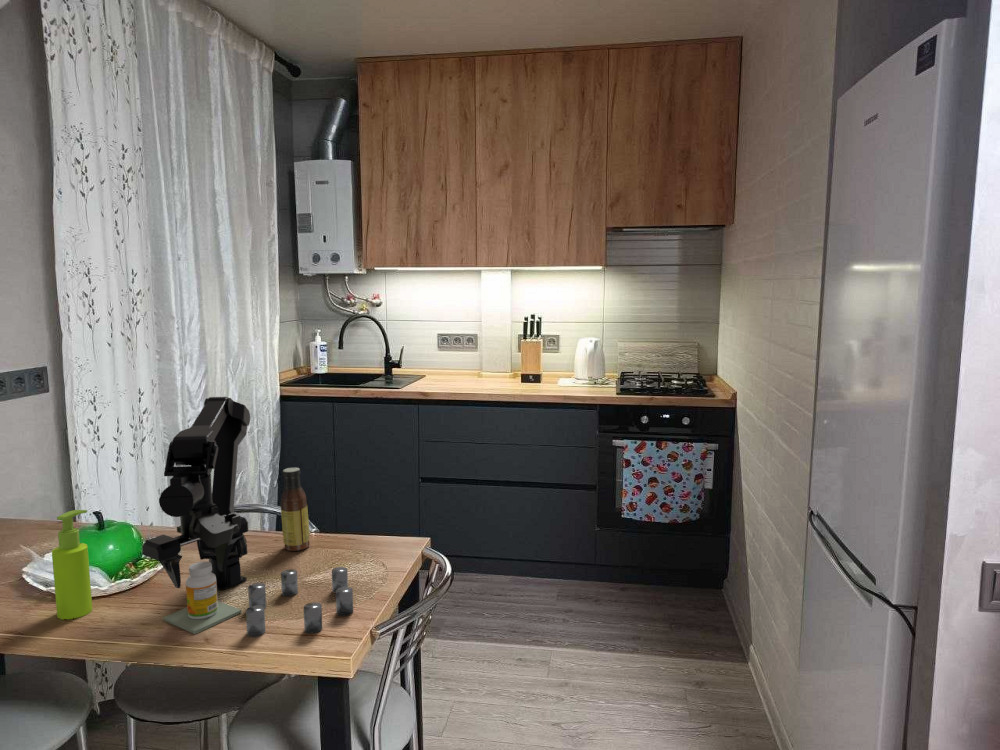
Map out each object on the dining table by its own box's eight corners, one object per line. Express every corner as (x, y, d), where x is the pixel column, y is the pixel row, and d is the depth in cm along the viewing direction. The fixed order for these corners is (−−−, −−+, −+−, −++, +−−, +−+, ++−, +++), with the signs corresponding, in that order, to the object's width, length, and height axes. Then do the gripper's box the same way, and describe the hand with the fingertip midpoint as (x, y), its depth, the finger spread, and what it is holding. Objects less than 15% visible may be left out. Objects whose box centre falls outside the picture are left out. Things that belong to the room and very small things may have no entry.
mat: (163, 620, 130) (163, 617, 129) (210, 600, 138) (210, 597, 138) (194, 634, 124) (194, 631, 124) (241, 612, 132) (241, 609, 132)
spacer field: (216, 622, 129) (215, 600, 128) (314, 577, 149) (313, 558, 148) (284, 651, 118) (283, 626, 118) (379, 598, 138) (378, 577, 138)
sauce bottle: (302, 541, 171) (299, 464, 168) (314, 547, 166) (311, 468, 164) (278, 547, 166) (274, 468, 164) (289, 554, 162) (286, 473, 160)
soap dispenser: (103, 604, 136) (96, 508, 134) (75, 620, 129) (67, 519, 127) (78, 602, 137) (70, 506, 135) (49, 618, 131) (40, 517, 128)
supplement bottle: (188, 609, 133) (185, 562, 131) (218, 605, 134) (215, 558, 133) (186, 622, 127) (183, 572, 126) (217, 617, 129) (214, 568, 128)
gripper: (174, 521, 116) (179, 608, 118) (264, 494, 132) (268, 571, 133) (138, 510, 122) (143, 593, 124) (228, 485, 138) (232, 559, 139)
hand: (200, 578), depth 130 cm, fingers open, 9 cm apart
